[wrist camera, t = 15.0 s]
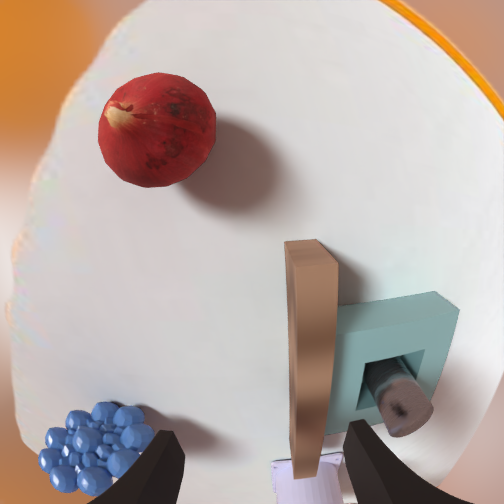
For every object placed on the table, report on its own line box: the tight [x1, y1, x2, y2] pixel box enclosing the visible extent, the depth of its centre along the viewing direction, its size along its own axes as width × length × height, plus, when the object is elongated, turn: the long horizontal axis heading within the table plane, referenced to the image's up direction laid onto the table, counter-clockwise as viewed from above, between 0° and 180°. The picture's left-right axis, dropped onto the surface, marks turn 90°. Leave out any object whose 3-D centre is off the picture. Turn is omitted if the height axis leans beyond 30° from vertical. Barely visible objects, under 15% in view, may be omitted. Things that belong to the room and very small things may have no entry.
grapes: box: [38, 402, 155, 496], centre depth 16 cm, size 12×7×12 cm, turn 100°
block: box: [324, 291, 460, 435], centre depth 18 cm, size 10×10×4 cm
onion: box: [98, 72, 216, 188], centre depth 12 cm, size 6×6×8 cm
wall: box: [284, 239, 339, 480], centre depth 17 cm, size 20×2×5 cm, turn 5°
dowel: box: [363, 356, 433, 437], centre depth 16 cm, size 3×3×7 cm
